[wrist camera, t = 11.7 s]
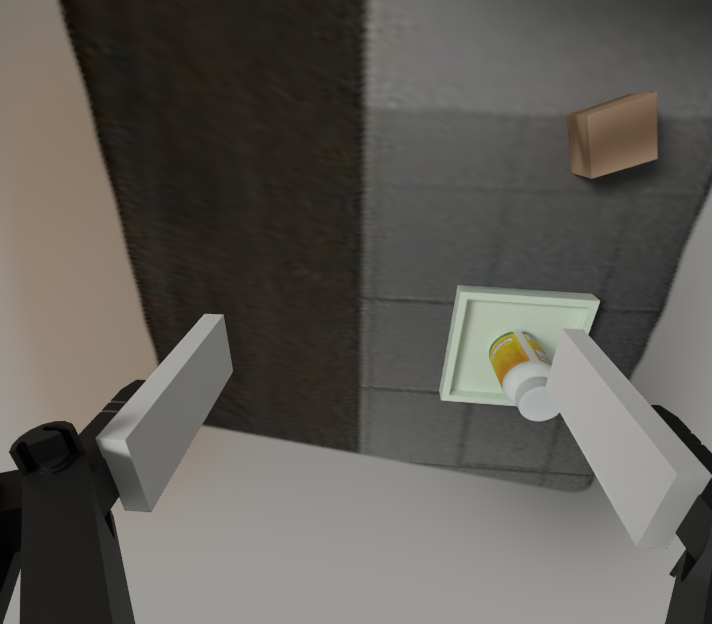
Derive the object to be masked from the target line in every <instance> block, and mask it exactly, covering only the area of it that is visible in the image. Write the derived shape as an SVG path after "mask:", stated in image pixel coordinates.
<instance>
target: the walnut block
mask: <svg viewBox="0 0 712 624" xmlns="http://www.w3.org/2000/svg"><path fill="white" fill-rule="evenodd" d="M566 116H567V127H568V137H569V148H570V159H571V170H572V173H574V174H577V175H580V176H584V177H587V178H591V179H593V178H596V177H599V176H603V175H606V174H609V173H613V172H616V171H619V170H622V169H626V168H629V167H632V166H636V165H639V164H642V163H645V162H649V161H652V160H655V159H657V92H649V93H639V94H629V95H626V96H623V97H620V98H617V99H614V100H611V101H608V102H605V103H602V104H599V105H596V106H593V107H590V108H587V109H584V110H581V111H578V112H575V113H572V114H569V115H566Z"/></svg>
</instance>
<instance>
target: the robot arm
mask: <svg viewBox="0 0 712 624" xmlns="http://www.w3.org/2000/svg"><path fill="white" fill-rule="evenodd" d="M232 372H233V368H232V362H231V357H230V351H229V345H228V339H227V333H226V327H225V321H224V315H217V314H204V315H203V316H202V318H201V319H200V320H199V321H198V322H197V323H196V324H195V326H194V327H193V328H192V329H191V330H190V331H189V332H188V334H187V335H186V336H185V337H184V338H183V339H182V340H181V341H180V343H179V344H178V345H177V346H176V347H175V348H174V349H173V351H172V352H171V353H170V354H169V355H168V356H167V357H166V359H165V360H164V361H163V362H162V363H161V364H160V365H159V367H158V368H157V369H156V370H155V371H154V372H153V373H152V375H151V376H150V377H149V378H148V379H147V380H136V381H134V382H132V383H131V384H129V385H128V386H126V387H124V388H123V389H121V390H120V391H119V393H118V394H117V395H116V396H115V397H114V398H113V399H112V400H111V403H108V404H107V405H106V406H105V407H104V409H103V410H102V412H100V413H99V414H98V415H97V416H96V417H95V418H94V419H93V420H92V421H91V422H90V424H89V425H88V426H87V427H86V428H85V429H84V430H83V431H82V432H81V433H80V434H79V435H78V434H77V432H76V429H75V427H74V426H73V424H72V423H69V422H66V421H54V422H51V423H46V424H42V425H40V426H38V427H36V428H33V429H31V430H29V431H28V432H26V433H25V434H23V435H22V436H20V437H19V438H18V439H17V440H16V441H15V442H14V444H13V445H12V447H11V449H10V451H9V453H10V455H11V457H12V458H13V460H14V462H15V464H16V465H17V467H18V469H19V470H14V471H8V472H3V473H0V624H3V621H4V618H5V615H6V612H7V609H8V606H9V603H10V600H11V596H12V594H13V591H14V587H15V584H16V581H17V578H18V575H19V572H20V569H21V586H20V624H135V620H134V615H133V610H132V606H131V601H130V596H129V591H128V586H127V581H126V577H125V571H124V567H123V561H122V557H121V551H120V547H119V542H118V536H117V531H116V526H115V521H114V517H113V514H112V512H111V508H112V506H113V505H114V503H115V502H116V500H117V499H118V497H120V500H121V502H122V505H123V507H124V510H129V511H141V512H151V511H152V510H153V508H154V506H155V504H156V503H157V501H158V499H159V498H160V496H161V494H162V492H163V491H164V489H165V487H166V485H167V484H168V482H169V480H170V479H171V477H172V475H173V473H174V472H175V470H176V468H177V467H178V465H179V463H180V462H181V460H182V458H183V456H184V455H185V453H186V451H187V449H188V448H189V446H190V444H191V442H192V441H193V439H194V437H195V436H196V434H197V432H198V431H199V429H200V427H201V425H202V424H203V422H204V420H205V419H206V417H207V415H208V413H209V412H210V410H211V408H212V406H213V405H214V403H215V401H216V400H217V398H218V396H219V394H220V393H221V391H222V389H223V388H224V386H225V384H226V382H227V381H228V379H229V377H230V375H231V374H232ZM545 387H546V388H547V390H548V392H549V394H550V395H551V397H552V399H553V401H554V403H555V404H556V406H557V408H558V410H559V411H560V413H561V415H562V417H563V418H564V420H565V422H566V424H567V425H568V427H569V429H570V431H571V433H572V434H573V436H574V438H575V440H576V441H577V443H578V445H579V447H580V448H581V450H582V452H583V454H584V455H585V457H586V459H587V461H588V462H589V464H590V466H591V468H592V470H593V471H594V473H595V475H596V477H597V478H598V480H599V482H600V484H601V485H602V487H603V489H604V491H605V492H606V494H607V496H608V498H609V499H610V501H611V503H612V505H613V506H614V508H615V510H616V512H617V514H618V515H619V517H620V519H621V521H622V522H623V524H624V526H625V528H626V529H627V531H628V533H629V535H630V536H631V538H632V540H633V542H634V544H635V545H636V547H648V548H662V549H667V548H668V546H669V545H670V543H671V541H672V540H673V538H674V537H675V535H676V534H677V536H678V537H679V539H680V540H681V542H682V543H683V545H684V546H685V547H686V550H685V551H684V553H683V555H682V556H681V557H680V559H679V560H678V562H677V563H676V565H675V567H674V568H673V569H672V571H671V572H670V575H671V576H673V577H675V576H676V579H675V584H674V588H673V592H672V597H671V601H670V605H669V609H668V614H667V618H666V622H665V624H712V453H711V452H710V451H709V450H708V449H707V448H706V447H705V446H704V445H702V444H701V441H700V440H699V439H698V438H697V437H696V436H695V435H694V434H691V431H690V430H689V429H688V427H687V426H686V425H684V423H683V422H682V421H681V420H680V419H679V418H678V417H677V416H675V415H674V414H672V413H671V412H669V411H667V410H666V409H665V408H663V407H662V406H660V405H650V404H649V403H648V402H647V401H646V400H645V399H644V398H643V397H642V396H641V394H640V393H639V392H638V391H637V390H636V389H635V387H633V385H632V384H631V383H630V382H629V381H628V380H627V378H626V377H625V376H624V375H623V374H622V373H621V372H620V370H619V369H618V368H617V367H616V366H615V365H614V364H613V363H612V361H611V360H610V359H609V358H608V357H607V356H606V355H605V353H604V352H603V351H602V350H601V349H600V348H599V347H598V346H597V344H596V343H595V342H594V341H593V340H592V339H591V338H590V336H589V335H588V334H587V333H586V332H585V331H584V330H583V329H562V332H561V335H560V338H559V342H558V345H557V349H556V352H555V355H554V359H553V362H552V366H551V369H550V373H549V376H548V379H547V383H546V386H545Z"/></svg>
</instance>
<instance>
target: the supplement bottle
mask: <svg viewBox="0 0 712 624" xmlns="http://www.w3.org/2000/svg"><path fill="white" fill-rule="evenodd" d="M488 355H489V359H490V361H491V364H492V366H493V369H494V371H495V373H496V376H497V378H498V380H499V383H500V385H501V387H502V390H503V392H504V394H505V396H506V398H507V399H508V400H509V401H510V402H511V403H512V404H514V405H516V406H517V407H518V409H519V411H520V413H521V414H522V415H523V416H524V417H525V418H527V419H529V420H532V421H545V420H548V419H551V418H553V417H555V416H556V415H557V414H559V413H560V411H559V410H558V408H557V406H556V404H555V403H554V401H553V399H552V397H551V395H550V394H549V392H548V390H547V388H546V387H545V386H546V383H547V379H548V376H549V373H550V369H551V366H552V363H551V361H550V360H549V358H548V357H547V355H546V354H545V352H544V351H543V349H542V348H541V346H540V345H539V343H538V342H537V340H536V339H535V338H534V336H533V335H531V334H530V333H528V332H526V331H523V330H518V329H514V330H508V331H505V332H503V333H501V334H500V335H498V336H497V337H496V338H494V340H493V341H492V342H491V344H490V346H489V350H488Z"/></svg>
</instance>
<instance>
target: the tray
mask: <svg viewBox="0 0 712 624" xmlns="http://www.w3.org/2000/svg"><path fill="white" fill-rule="evenodd" d="M599 304H600V300H599V299H597V298H596V297H595V296H594V295H593V294H587V293H572V292H557V291H541V290H526V289H511V288H496V287H481V286H465V285H458V287H457V292H456V298H455V304H454V310H453V315H452V321H451V327H450V332H449V338H448V344H447V350H446V355H445V361H444V367H443V372H442V378H441V384H440V389H439V392H440V397H441V400H444V401H457V402H470V403H483V404H496V405H509V406H516V405H514V404H512V403H511V402H510V401H509V400H508V399H507V398H506V396H505V394H504V392H503V390H502V387H501V385H500V383H499V380H498V378H497V376H496V373H495V371H494V369H493V366H492V364H491V361H490V359H489V355H488V350H489V346H490V344H491V342H492V341H493V340H494V338H496V337H497V336H498V335H500V334H501V333H503V332H505V331H508V330H514V329H518V330H523V331H526V332H528V333H530V334H531V335H533V336H534V338H535V339H536V340H537V342H538V343H539V345H540V346H541V348H542V349H543V351H544V352H545V354H546V355H547V357H548V358H549V360H550V361H551V363H552V362H553V359H554V355H555V352H556V349H557V345H558V342H559V338H560V335H561V332H562V329H583V330H584V331H585V332H586V333H587V334H589V331H590V329H591V326H592V323H593V320H594V317H595V315H596V312H597V309H598V306H599Z"/></svg>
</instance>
